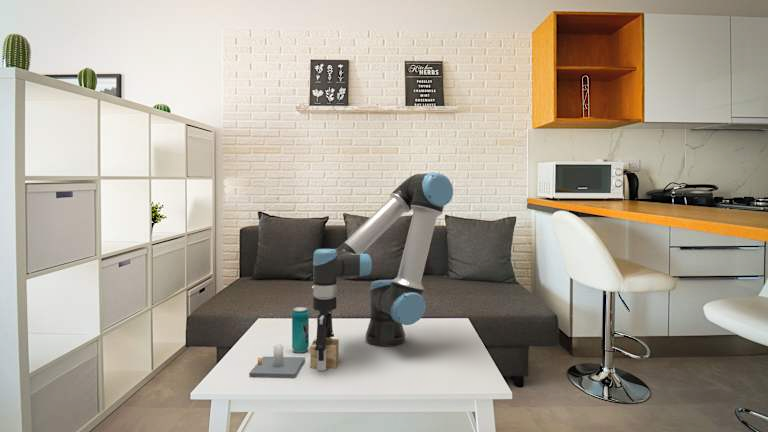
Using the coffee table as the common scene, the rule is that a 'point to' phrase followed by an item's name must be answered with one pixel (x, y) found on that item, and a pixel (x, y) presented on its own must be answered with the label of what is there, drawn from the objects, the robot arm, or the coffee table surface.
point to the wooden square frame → (331, 353)
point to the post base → (278, 371)
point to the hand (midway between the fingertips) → (324, 363)
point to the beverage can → (300, 329)
